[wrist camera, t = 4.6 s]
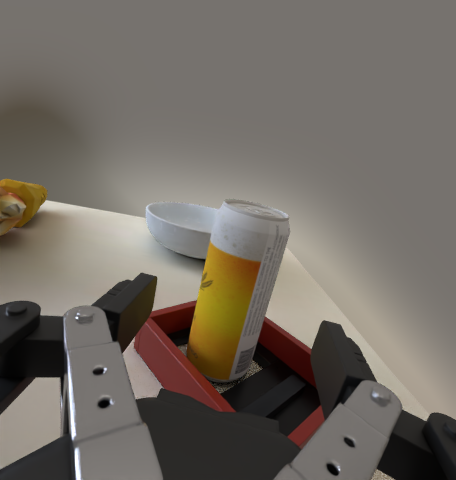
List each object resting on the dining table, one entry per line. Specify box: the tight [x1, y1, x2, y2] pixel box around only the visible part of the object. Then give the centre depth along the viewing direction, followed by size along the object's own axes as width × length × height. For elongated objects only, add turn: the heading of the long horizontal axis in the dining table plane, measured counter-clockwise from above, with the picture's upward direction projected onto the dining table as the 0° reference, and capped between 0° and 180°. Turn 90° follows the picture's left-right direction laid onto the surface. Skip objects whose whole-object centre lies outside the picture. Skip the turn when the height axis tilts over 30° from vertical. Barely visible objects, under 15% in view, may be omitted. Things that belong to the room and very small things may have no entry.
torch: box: [0, 179, 47, 236], centre depth 45 cm, size 8×8×25 cm
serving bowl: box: [146, 202, 219, 259], centre depth 53 cm, size 21×21×7 cm
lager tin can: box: [186, 199, 290, 383], centre depth 24 cm, size 6×6×15 cm
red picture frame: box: [134, 300, 325, 449], centre depth 24 cm, size 16×12×4 cm
